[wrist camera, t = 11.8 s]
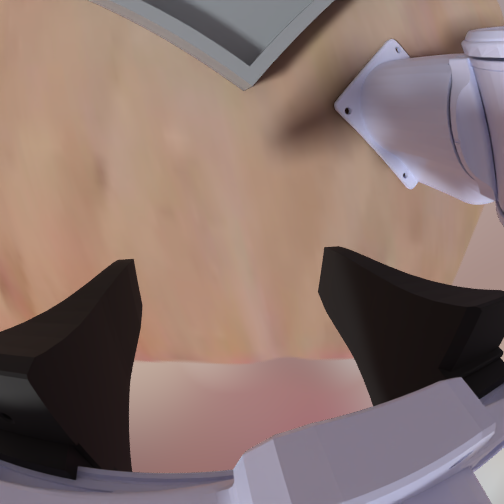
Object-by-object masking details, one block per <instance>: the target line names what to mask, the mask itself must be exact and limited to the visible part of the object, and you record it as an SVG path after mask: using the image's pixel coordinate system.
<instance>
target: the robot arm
mask: <svg viewBox="0 0 504 504" xmlns="http://www.w3.org/2000/svg"><path fill="white" fill-rule="evenodd" d="M461 45H462V48H463V51H464V53H459V54H444V55H433V56H423V57H415V58H410V57H409V56H408V54H407V53H406V52H405V51H404V50H403V48H402V47H401V46H400V45H399V44H398V43H397V41H395V40H394V39H389V40H387V41H386V42H385V43H384V45H383V46H382V47H381V48H380V49H379V50H378V52H377V53H376V54H375V55H374V56H373V57H372V58H371V60H370V61H369V62H368V63H367V64H366V66H365V67H364V68H363V69H362V70H361V71H360V73H359V74H358V75H357V76H356V77H355V78H354V80H353V81H352V82H351V83H350V84H349V86H348V87H347V88H346V89H345V90H344V92H343V93H342V94H341V95H340V96H339V98H338V99H337V100H336V101H335V103H334V107H335V110H336V111H337V112H338V113H339V114H340V115H341V116H342V117H343V118H344V119H345V120H346V121H347V122H348V123H349V124H350V125H351V126H352V127H353V128H354V129H355V130H356V131H357V132H358V133H359V134H360V135H361V136H362V137H363V138H364V139H365V140H366V141H367V143H368V144H369V145H370V146H371V147H372V148H373V149H374V150H375V151H376V152H377V153H378V155H379V156H380V157H381V158H382V159H383V160H384V161H385V163H386V164H387V165H388V166H389V167H390V168H391V170H392V171H393V172H394V173H395V174H396V175H397V177H398V178H399V179H400V180H401V182H402V183H403V184H404V185H405V187H407V188H408V189H413V188H414V187H415V186H416V184H417V183H418V182H421V183H423V184H425V185H428V186H430V187H433V188H435V189H437V190H439V191H442V192H444V193H446V194H448V195H451V196H453V197H455V198H457V199H459V200H461V201H463V202H466V203H469V204H476V205H480V204H487V203H491V202H494V201H496V211H497V215H498V218H499V220H500V222H501V223H502V225H503V227H504V26H499V27H489V28H481V29H475V30H470V31H468V32H467V35H466V37H465V40H463V41H462V43H461ZM395 48H397V50H398V53H397V52H396V49H395ZM345 108H348V110H349V113H348V114H346V113H345ZM404 173H405V176H404V177H403V174H404ZM318 293H319V295H320V298H321V300H322V303H323V305H324V308H325V310H326V312H327V314H328V315H329V317H330V319H331V320H332V322H333V324H334V325H335V327H336V329H337V330H338V332H339V333H340V335H341V337H342V338H343V340H344V342H345V343H346V345H347V346H348V348H349V350H350V351H351V353H352V355H353V357H354V359H355V361H356V363H357V365H358V368H359V370H360V372H361V375H362V377H363V379H364V382H365V385H366V387H367V390H368V392H369V395H370V398H371V401H372V404H373V407H370V408H367V409H364V410H360V411H357V412H353V413H350V414H346V415H343V416H339V417H336V418H331V419H327V420H324V421H320V422H315V423H311V424H308V425H305V426H302V427H299V428H296V429H293V430H289V431H286V432H283V433H279V434H276V435H273V436H272V437H270V438H268V439H266V440H265V441H263V442H261V443H259V444H257V445H256V446H254V447H252V448H250V449H248V450H247V451H246V452H245V453H244V454H243V455H242V457H241V458H240V460H239V461H238V463H237V464H236V466H235V467H234V469H233V470H225V471H212V472H196V473H139V472H132V467H131V458H130V442H129V391H130V379H131V373H132V367H133V362H134V357H135V352H136V348H137V343H138V338H139V333H140V328H141V318H142V301H141V296H140V291H139V286H138V281H137V275H136V270H135V264H134V259H125V260H117V261H115V262H114V263H112V264H111V265H110V266H108V267H107V268H106V269H105V270H103V271H102V272H101V273H100V274H98V275H97V276H96V277H95V278H93V279H92V280H91V281H90V282H88V283H87V284H86V285H84V286H83V287H82V288H80V289H79V290H78V291H76V292H75V293H74V294H72V295H71V296H70V297H68V298H67V299H65V300H64V301H62V302H61V303H59V304H57V305H56V306H54V307H52V308H51V309H49V310H47V311H46V312H44V313H42V314H40V315H38V316H36V317H34V318H32V319H30V320H28V321H26V322H24V323H21V324H19V325H17V326H14V327H12V328H9V329H7V330H4V331H1V332H0V504H492V503H491V502H490V500H489V498H488V496H487V495H486V493H485V491H484V490H483V488H482V486H481V484H480V483H479V481H478V479H477V478H476V476H475V474H474V473H473V472H475V471H476V470H477V469H478V468H480V467H481V466H482V465H483V464H485V463H486V462H487V461H488V460H490V459H491V458H492V457H493V456H494V455H495V454H497V453H498V452H499V451H500V450H501V449H502V448H504V362H503V360H502V359H501V358H500V357H502V355H503V351H502V350H501V349H500V348H499V345H500V343H501V341H502V339H503V338H504V291H501V290H483V289H471V288H463V287H457V286H452V285H447V284H442V283H438V282H434V281H430V280H426V279H423V278H420V277H417V276H413V275H410V274H407V273H405V272H402V271H399V270H397V269H394V268H392V267H389V266H387V265H384V264H382V263H380V262H377V261H375V260H373V259H370V258H368V257H366V256H364V255H361V254H359V253H357V252H354V251H351V250H349V249H346V248H343V247H339V246H338V247H324V255H323V262H322V269H321V276H320V282H319V289H318Z"/></svg>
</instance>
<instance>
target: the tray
mask: <svg viewBox="0 0 504 504" xmlns="http://www.w3.org/2000/svg"><path fill="white" fill-rule="evenodd" d="M88 1H91V2H93V3H95V4H97V5H100V6H102V7H104V8H106V9H108V10H110V11H112V12H115V13H117V14H119V15H121V16H123V17H125V18H127V19H129V20H131V21H132V22H134V23H136V24H138V25H140V26H142V27H144V28H146V29H147V30H149V31H151V32H153V33H155V34H156V35H158V36H160V37H162V38H163V39H165V40H167V41H169V42H170V43H172V44H174V45H175V46H177V47H179V48H180V49H182V50H184V51H185V52H187V53H188V54H190V55H191V56H193V57H195V58H196V59H198V60H199V61H201V62H202V63H204V64H205V65H207V66H208V67H210V68H211V69H213V70H214V71H216V72H217V73H219V74H220V75H222V76H223V77H225V78H226V79H227V80H229V81H230V82H232V83H233V84H235V85H236V86H237V87H239V88H240V89H241V90H243V91H244V90H246V89H248V88H250V87H252V86H253V85H254V84H255V83H256V81H257V80H258V79H259V78H260V77H261V76H262V74H263V73H264V72H265V71H266V70H267V69H268V68H269V66H270V65H271V64H272V63H273V62H274V61H275V60H276V59H277V58H278V57H279V55H280V54H281V53H282V52H283V51H284V50H285V49H286V48H287V47H288V46H289V45H290V44H291V43H292V42H293V40H294V39H295V38H296V37H297V36H298V35H299V34H300V33H301V32H302V31H303V30H304V29H305V28H306V27H307V26H308V25H309V24H310V23H311V22H312V21H313V20H314V19H315V18H316V17H317V16H318V15H319V14H320V13H321V12H322V11H324V10H325V9H326V8H327V7H328V6H329V5H330V4H331V3H332V2H333V1H334V0H88Z"/></svg>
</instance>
